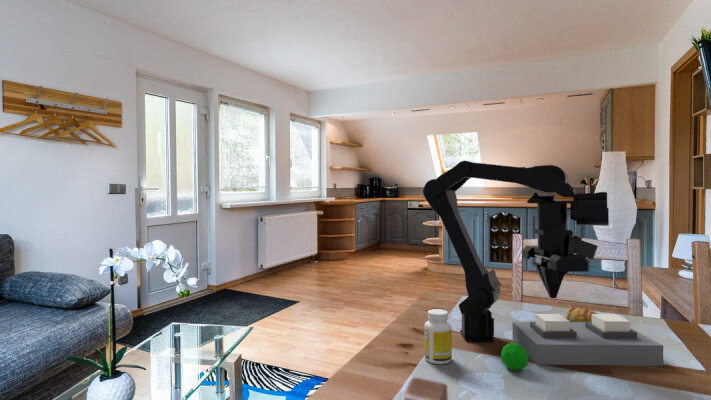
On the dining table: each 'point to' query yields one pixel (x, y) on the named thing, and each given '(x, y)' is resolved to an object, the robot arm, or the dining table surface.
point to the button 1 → (552, 322)
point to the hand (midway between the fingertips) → (552, 297)
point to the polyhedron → (514, 356)
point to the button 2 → (610, 323)
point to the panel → (587, 346)
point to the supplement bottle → (438, 337)
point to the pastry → (579, 315)
